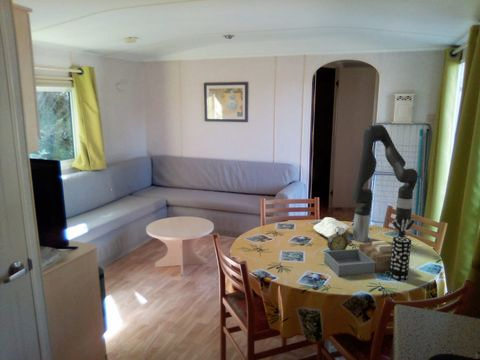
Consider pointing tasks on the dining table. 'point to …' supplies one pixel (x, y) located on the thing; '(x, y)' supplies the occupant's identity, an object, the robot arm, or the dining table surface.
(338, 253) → the box
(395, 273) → the white-spotted black cylinder
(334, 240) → the alarm clock
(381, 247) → the wooden tile
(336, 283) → the dining table surface
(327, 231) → the crumpled cloth
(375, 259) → the block
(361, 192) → the robot arm
